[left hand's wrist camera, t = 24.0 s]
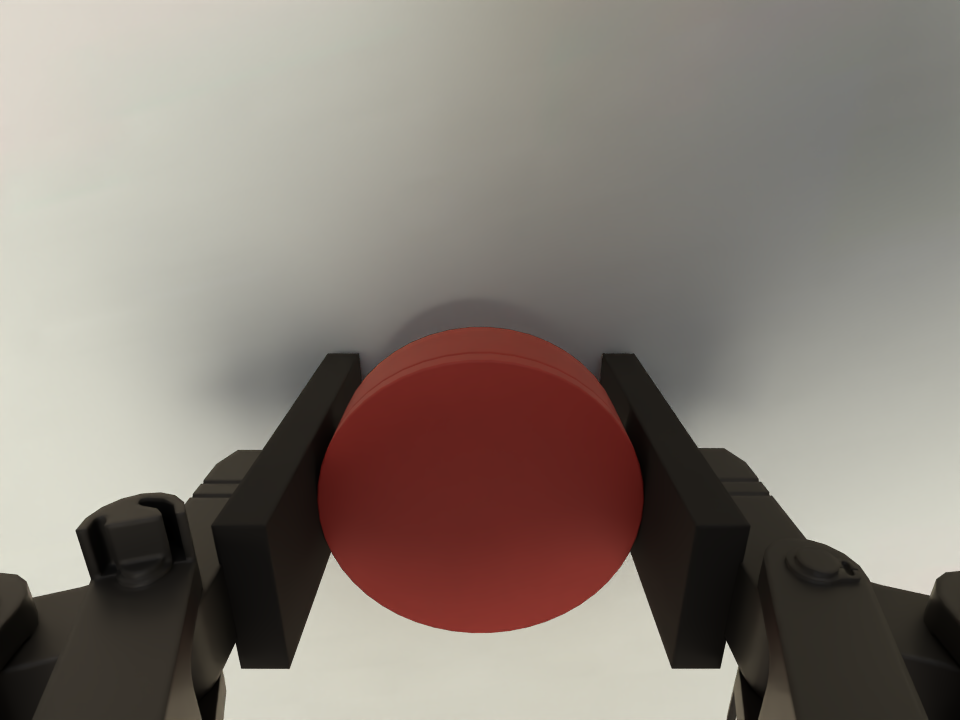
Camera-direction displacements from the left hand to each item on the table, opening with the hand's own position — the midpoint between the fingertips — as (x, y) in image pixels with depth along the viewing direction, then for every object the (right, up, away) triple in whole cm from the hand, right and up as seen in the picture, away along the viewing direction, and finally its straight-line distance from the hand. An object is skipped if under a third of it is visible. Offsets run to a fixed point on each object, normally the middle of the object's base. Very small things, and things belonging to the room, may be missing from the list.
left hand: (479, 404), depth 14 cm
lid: (0, -2, -4) cm, 4 cm away
